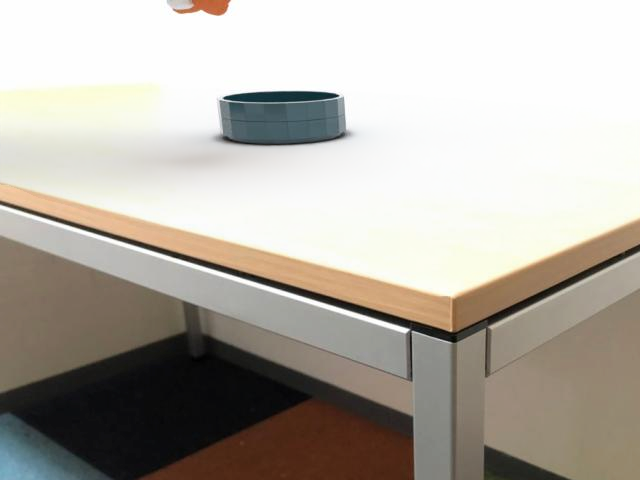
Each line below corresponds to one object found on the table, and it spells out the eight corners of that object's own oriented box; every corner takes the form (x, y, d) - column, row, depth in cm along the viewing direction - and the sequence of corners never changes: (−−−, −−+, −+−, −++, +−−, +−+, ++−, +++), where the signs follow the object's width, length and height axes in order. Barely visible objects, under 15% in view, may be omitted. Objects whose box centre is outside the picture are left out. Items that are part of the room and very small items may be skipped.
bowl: (211, 146, 92) (205, 103, 90) (233, 127, 107) (228, 91, 105) (344, 143, 94) (342, 102, 92) (348, 125, 108) (346, 89, 106)
